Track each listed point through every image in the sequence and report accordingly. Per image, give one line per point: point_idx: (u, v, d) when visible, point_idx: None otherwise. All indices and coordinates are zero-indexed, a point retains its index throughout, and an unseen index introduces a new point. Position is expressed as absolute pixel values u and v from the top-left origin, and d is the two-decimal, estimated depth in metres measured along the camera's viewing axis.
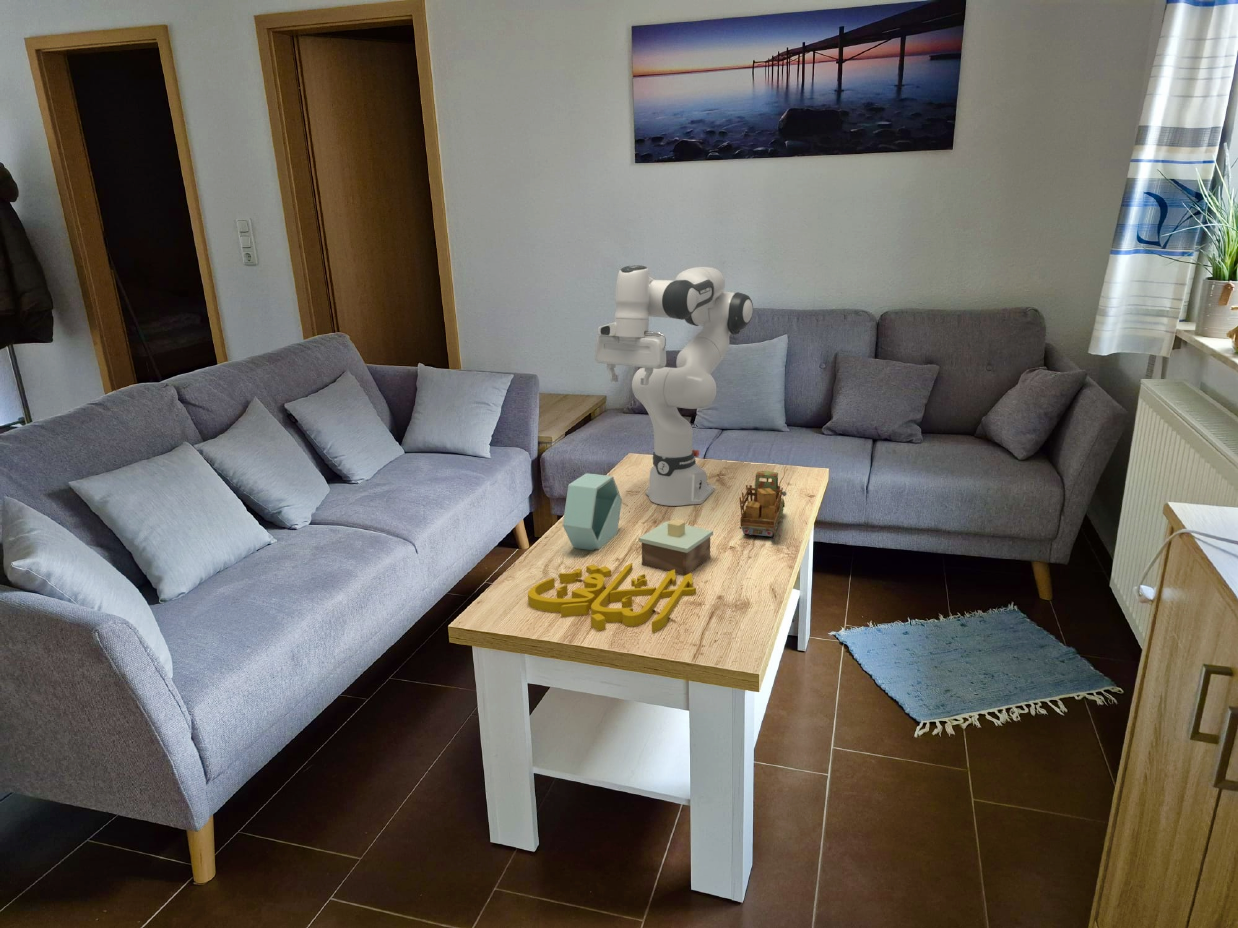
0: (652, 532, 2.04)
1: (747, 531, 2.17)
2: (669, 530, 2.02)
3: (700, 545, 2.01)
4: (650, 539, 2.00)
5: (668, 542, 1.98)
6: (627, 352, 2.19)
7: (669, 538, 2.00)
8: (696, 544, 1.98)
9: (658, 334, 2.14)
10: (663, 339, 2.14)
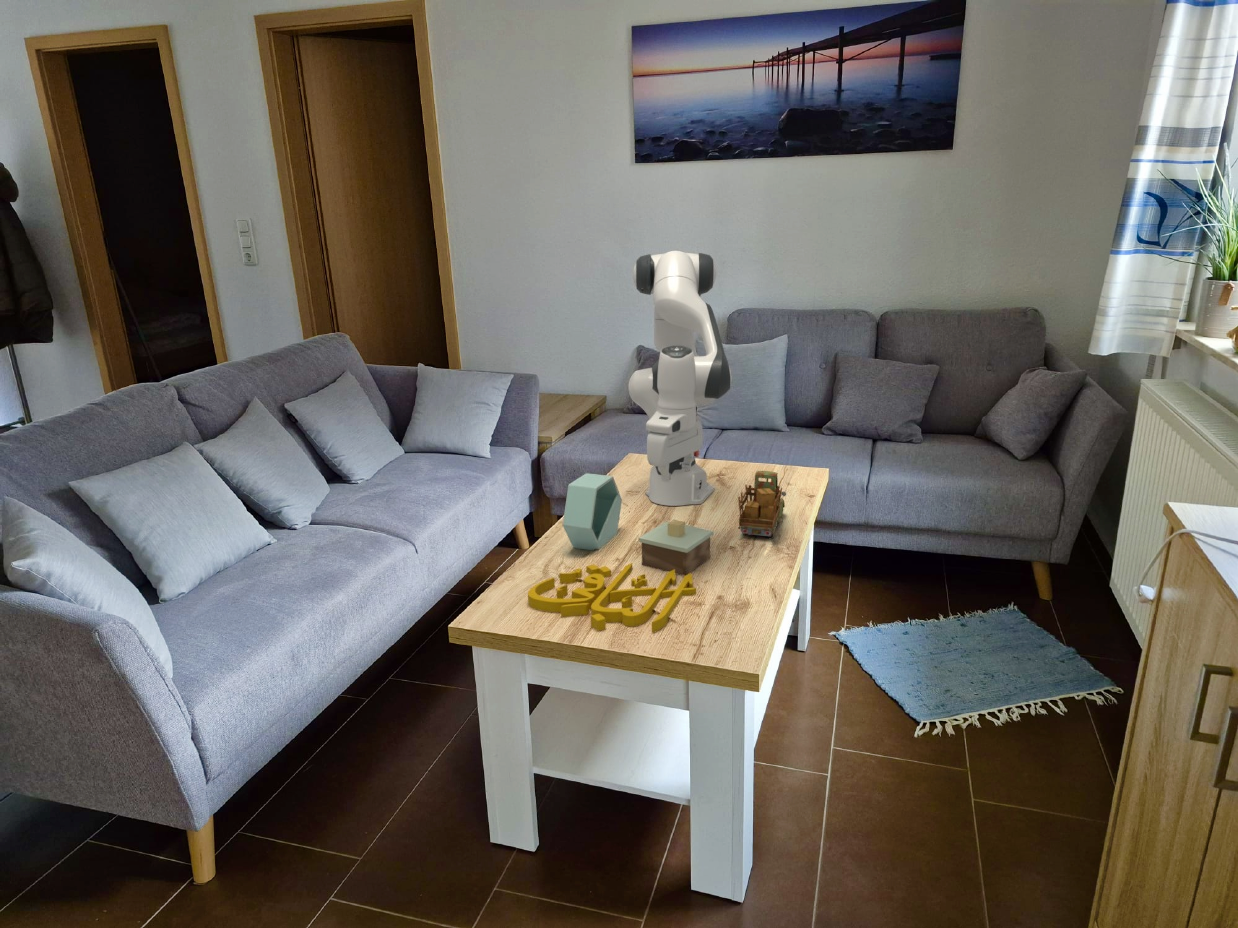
0: (652, 532, 2.04)
1: (746, 531, 2.17)
2: (669, 530, 2.02)
3: (700, 545, 2.01)
4: (650, 539, 2.00)
5: (668, 542, 1.98)
6: (683, 442, 1.95)
7: (669, 538, 2.00)
8: (696, 544, 1.98)
9: (696, 414, 2.01)
10: (698, 417, 2.03)
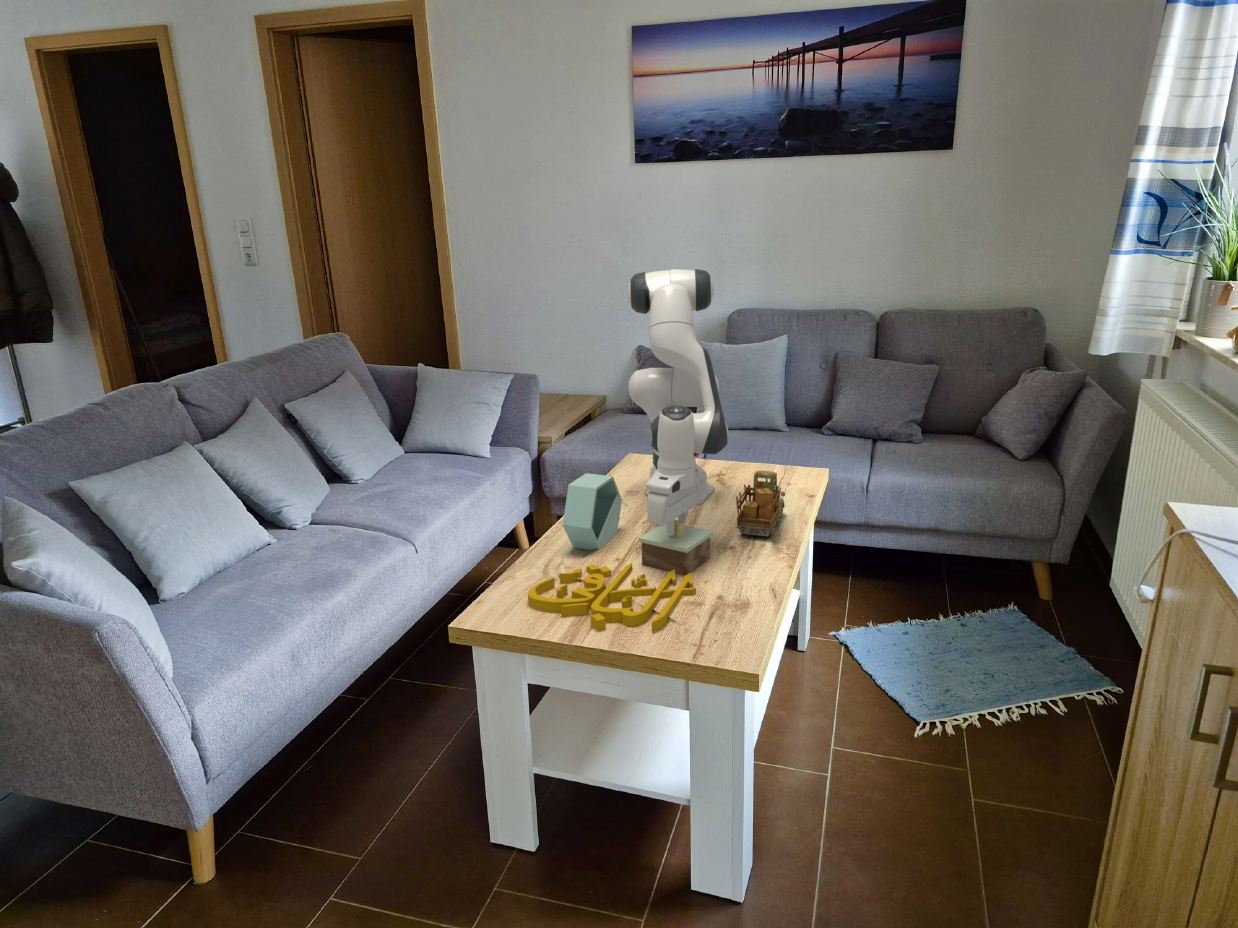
0: (652, 532, 2.04)
1: (744, 531, 2.17)
2: None
3: (700, 545, 2.01)
4: (650, 539, 2.00)
5: (668, 542, 1.98)
6: (683, 500, 1.99)
7: (669, 538, 2.00)
8: (696, 544, 1.98)
9: (695, 469, 2.05)
10: (698, 472, 2.07)
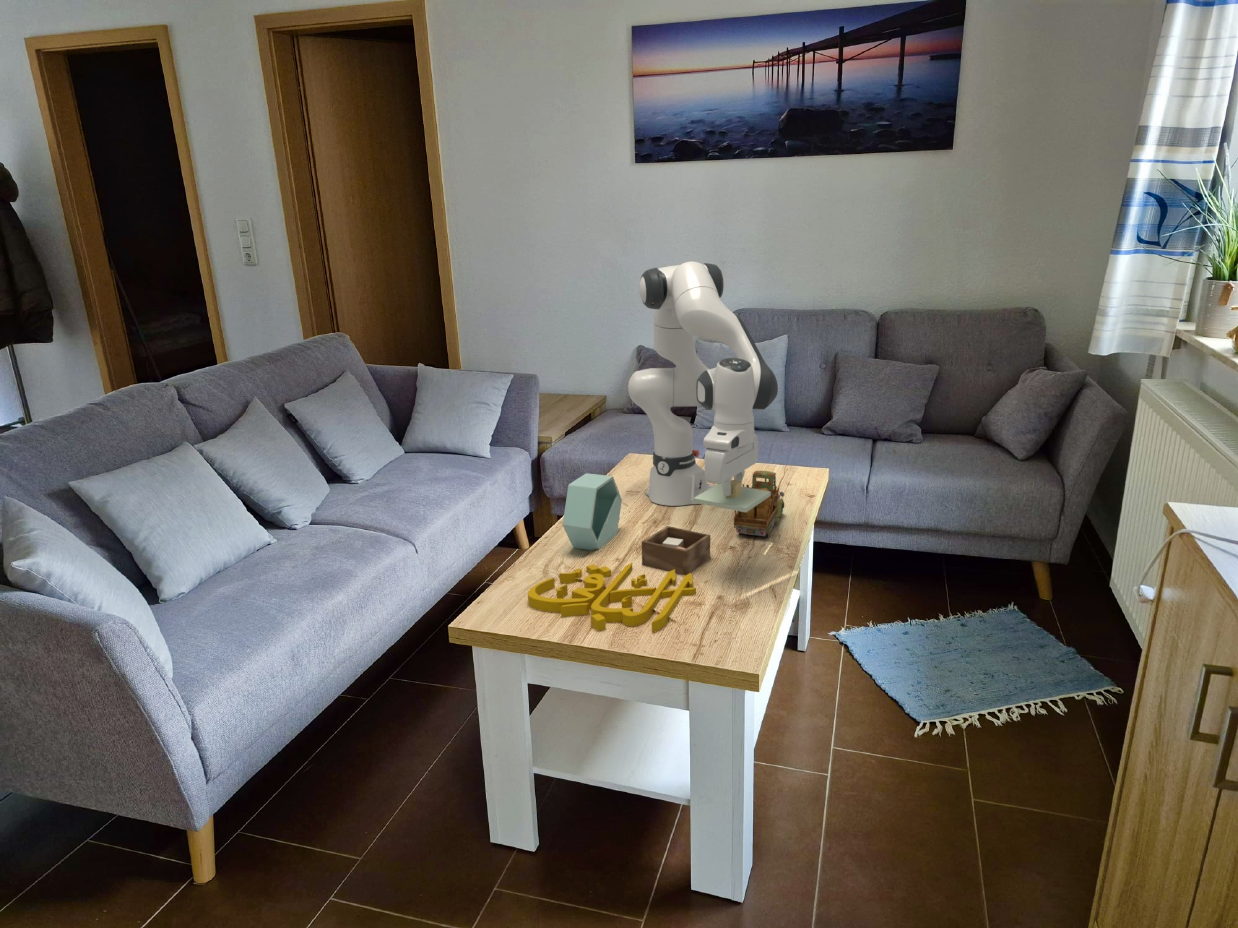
0: (707, 493, 1.94)
1: (740, 530, 2.17)
2: None
3: (700, 545, 2.01)
4: (705, 499, 1.90)
5: (725, 502, 1.88)
6: (740, 458, 1.89)
7: (725, 498, 1.90)
8: (755, 504, 1.88)
9: None
10: (754, 430, 1.96)
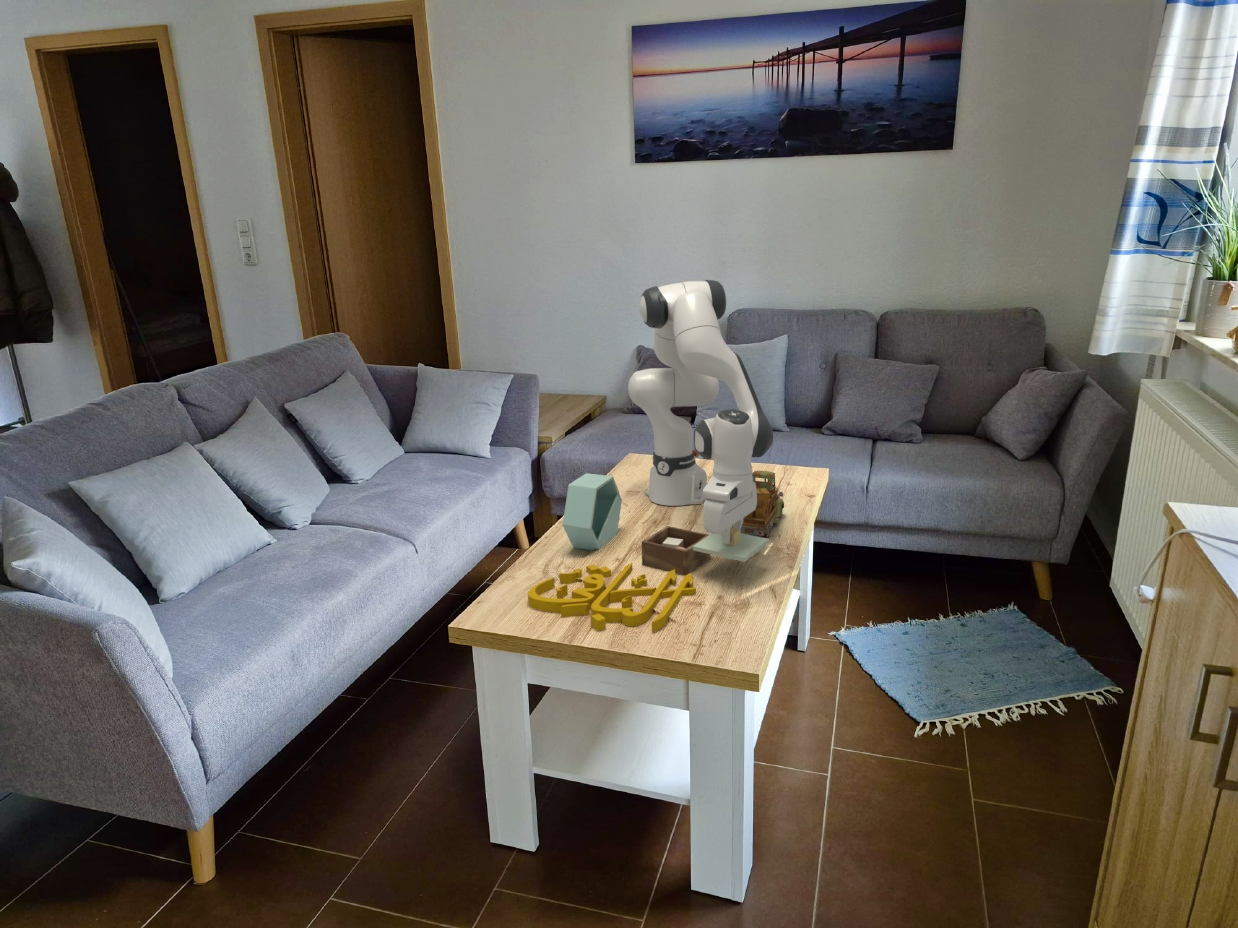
0: (706, 540, 1.97)
1: None
2: None
3: None
4: (705, 547, 1.93)
5: (724, 551, 1.91)
6: (739, 507, 1.92)
7: (724, 546, 1.93)
8: (753, 553, 1.91)
9: None
10: (752, 478, 2.00)
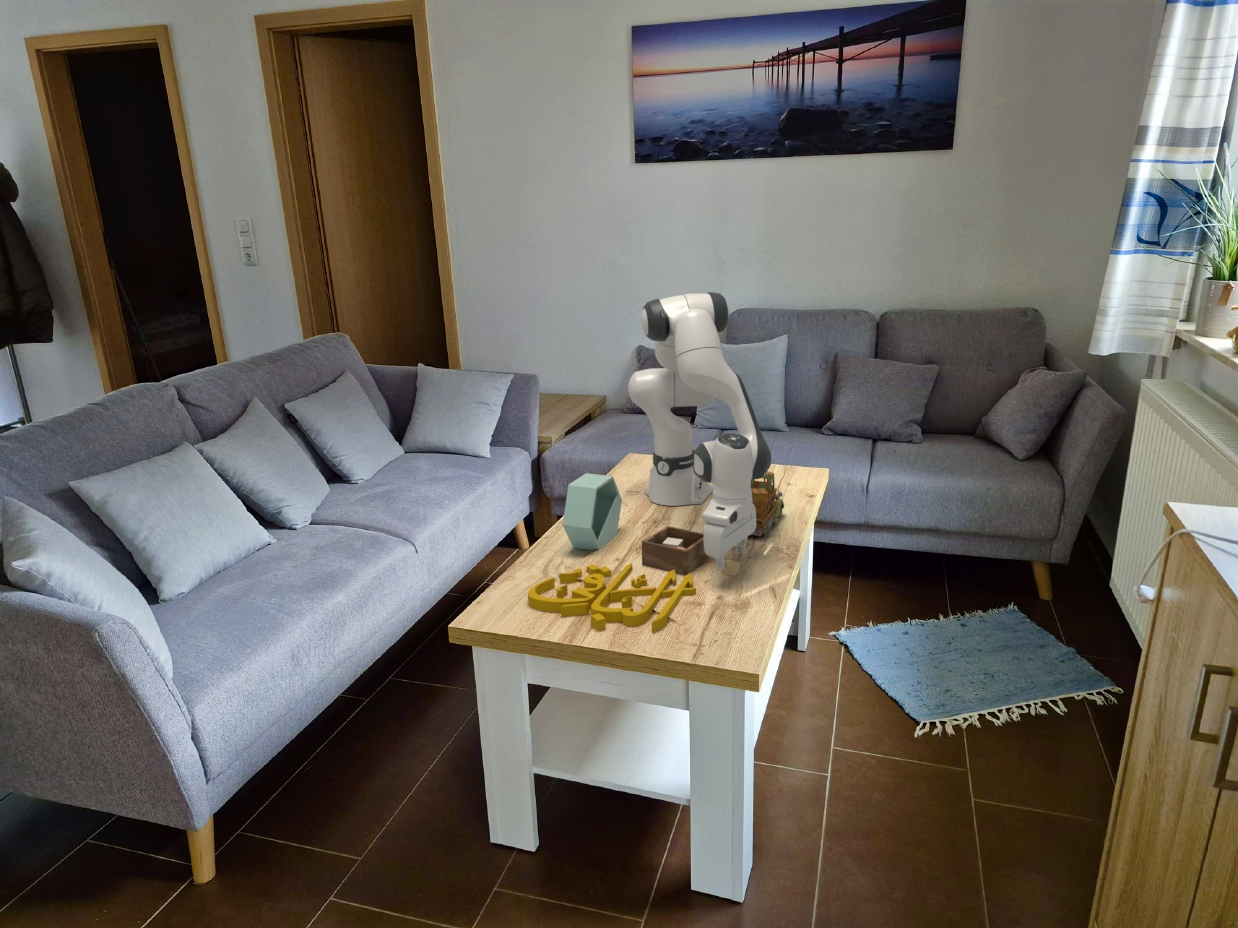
0: None
1: None
2: (723, 571, 1.97)
3: (700, 545, 2.01)
4: None
5: None
6: (739, 529, 1.94)
7: None
8: None
9: None
10: (752, 500, 2.01)
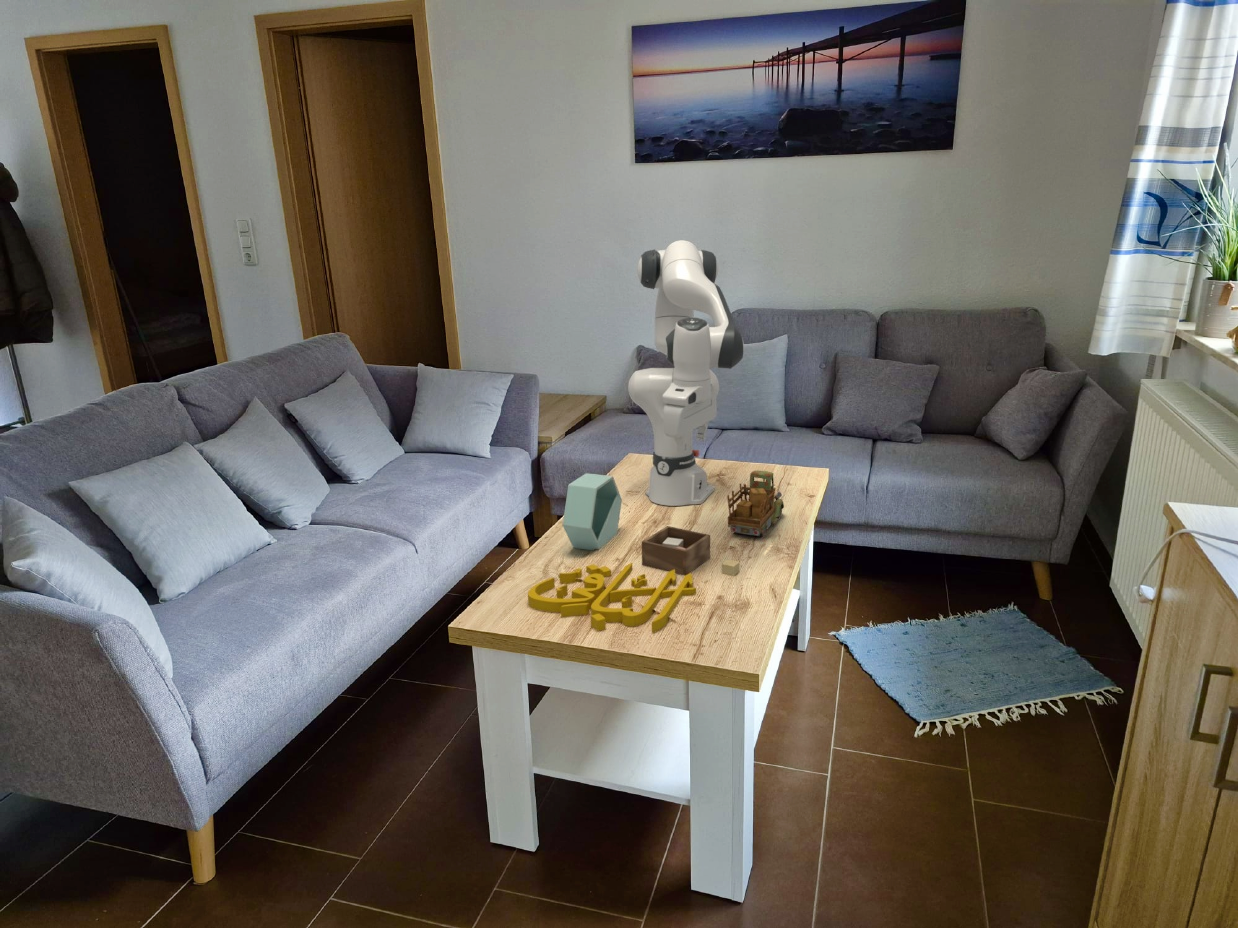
0: None
1: (735, 529, 2.18)
2: (723, 571, 1.97)
3: (700, 545, 2.01)
4: None
5: None
6: (698, 413, 1.99)
7: None
8: None
9: None
10: (712, 387, 2.06)
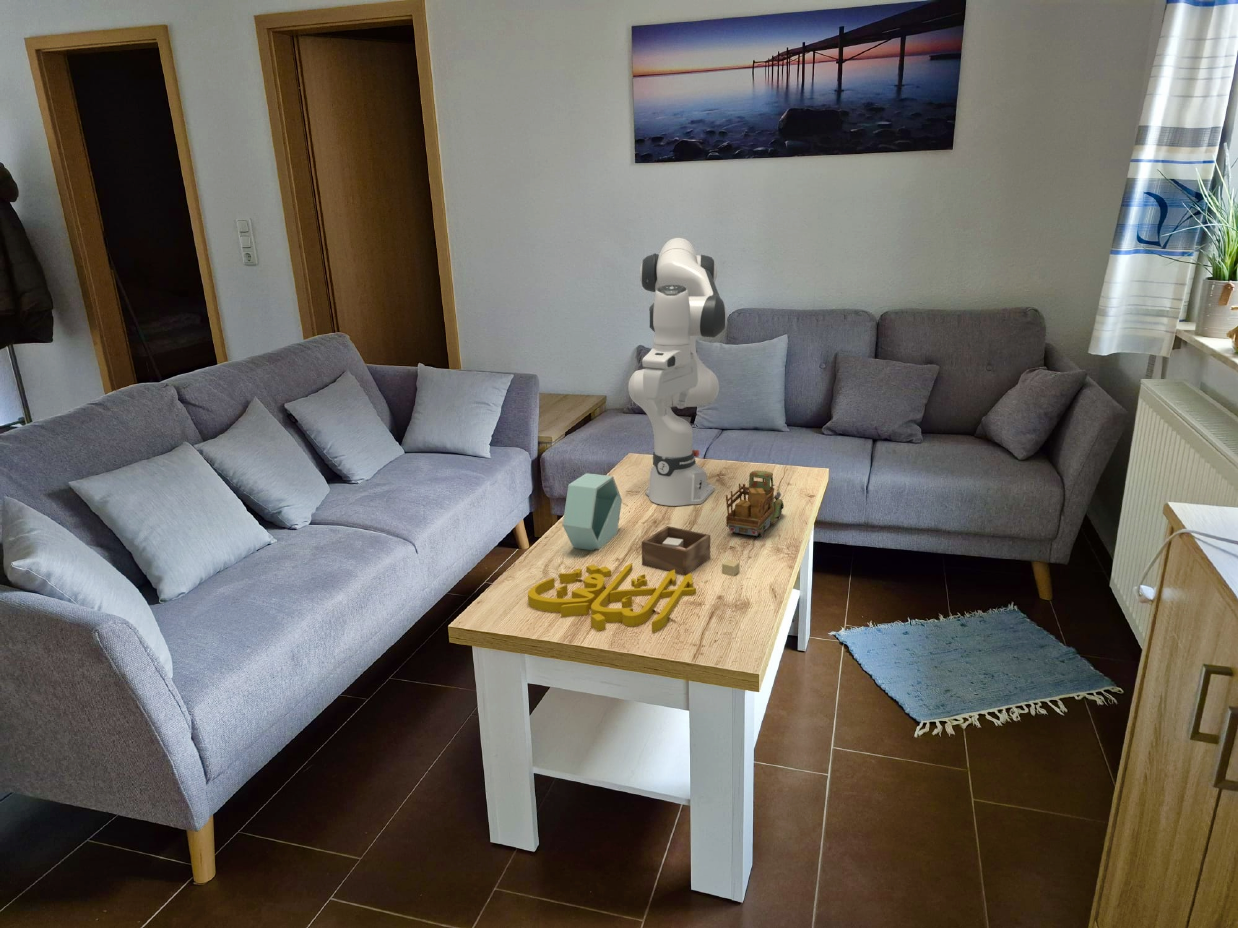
0: None
1: (733, 529, 2.18)
2: (723, 571, 1.97)
3: (700, 545, 2.01)
4: None
5: None
6: (678, 379, 2.03)
7: None
8: None
9: (690, 352, 2.09)
10: (693, 356, 2.11)
